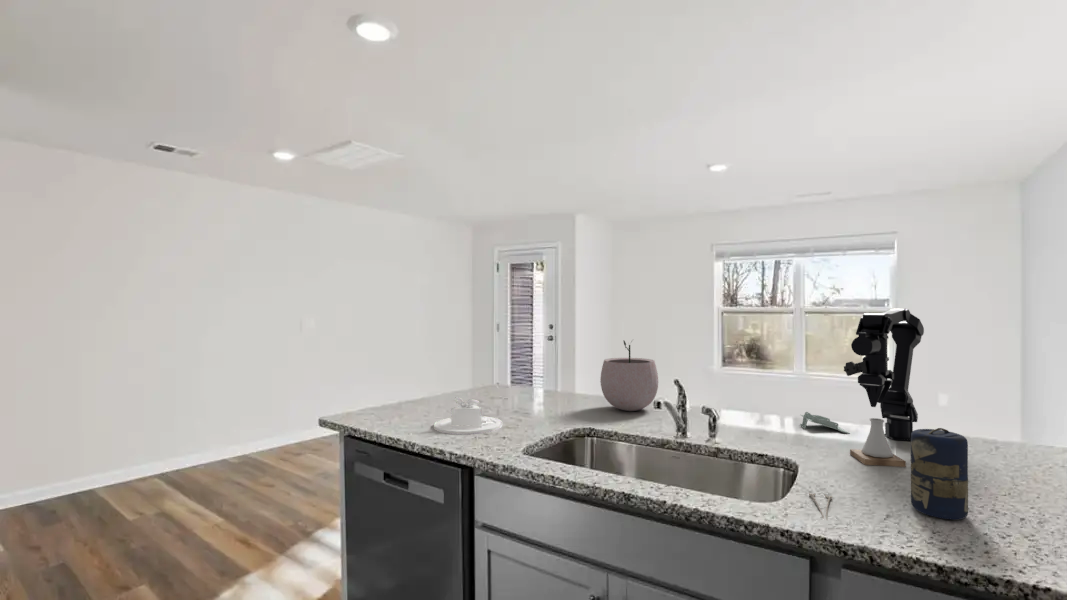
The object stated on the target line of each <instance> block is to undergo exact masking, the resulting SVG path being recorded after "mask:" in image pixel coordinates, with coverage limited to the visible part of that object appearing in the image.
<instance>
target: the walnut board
mask: <svg viewBox="0 0 1067 600" xmlns="http://www.w3.org/2000/svg"><path fill="white" fill-rule="evenodd" d="M861 451H862V449H855V448H853V449H852V448H851V449H849V455H850V456H852V457H853V458H854V459H855V460H857V461H859V462H861V463H862V464H863V465H866V466H882V467H885V466H886V467H901V468H902V467H904V468H905V467H907V463H906V460H905V459H903V458H901V457H899V456H898V455H896V454H894V453H893V456H894V457H888V458H883V457H873V456H870V455H866V454H864V453H863V452H861Z"/></svg>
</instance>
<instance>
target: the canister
mask: <svg viewBox="0 0 1067 600" xmlns="http://www.w3.org/2000/svg"><path fill="white" fill-rule="evenodd" d="M968 443H969V441H968V439H967V438H966V436H964V435H962V434H959V433H956V432H953V431H949V430H948V429H945V428H942V427H938V428H935V429H933V428H918V429H915V430H914V429H913V432H912V433H911V441H910V504H911V506H912V507H913V508H914V509H915V510H916V511H918V512H920V513H922V514H924V515H927V516H930V517H934V518H939V519H944V520H963V519H965V518H966V517H967V516H968V514H969V473H968V472H969V470H968V469H969V458H968V457H969V454H968V453H969V445H968Z"/></svg>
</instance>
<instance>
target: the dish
mask: <svg viewBox="0 0 1067 600" xmlns="http://www.w3.org/2000/svg"><path fill="white" fill-rule="evenodd" d="M454 401H455V402H456V404H458V405H457V406H455V407H453V408H452V407H451V408H450V409H451V410H450V411H451V412H450V415H451V417H447V418H443V419H440V420H437V421H435V423H433V429H434V430H435V431H437V432H440V433H443V434H449V435H450V434H451V435H476V434H484V433H489V432H494V431H496V430H499V429H500V428H502V427H503V421H502V420H501V419H499V418H497V417H491V416H485V415H484V416H483V415H482V413H483V411H482V407H481V406H480V407H479V406H478V404H480V401H479V400H477V399H473V398H472V399H467V400H465V401H464V400H463V399H462V398H461V397H459V396H458V397H457V396H456V397H454ZM483 421H486V423H482V422H483ZM451 425H475V426H451Z"/></svg>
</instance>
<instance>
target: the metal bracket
mask: <svg viewBox="0 0 1067 600" xmlns="http://www.w3.org/2000/svg"><path fill="white" fill-rule="evenodd" d="M800 416H801V417H803V418H802V422H801V423H799V426H800V427H802V428H803V429H804V430H805V429H806V427H807V424H808V422H810V423H814V424H817V425H820V426H824V427H828V428H831V429H834V430H837V431H839V432H842V433H844V434H848V435H851V433H850V432H849V431H847V430H845V429H843V428H842V427H840V426H839V423H837V422H835V421H831V419H830V418H828V417H825V416H822V415H817V414H811V412H809V411H806V412H804V414H800Z"/></svg>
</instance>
